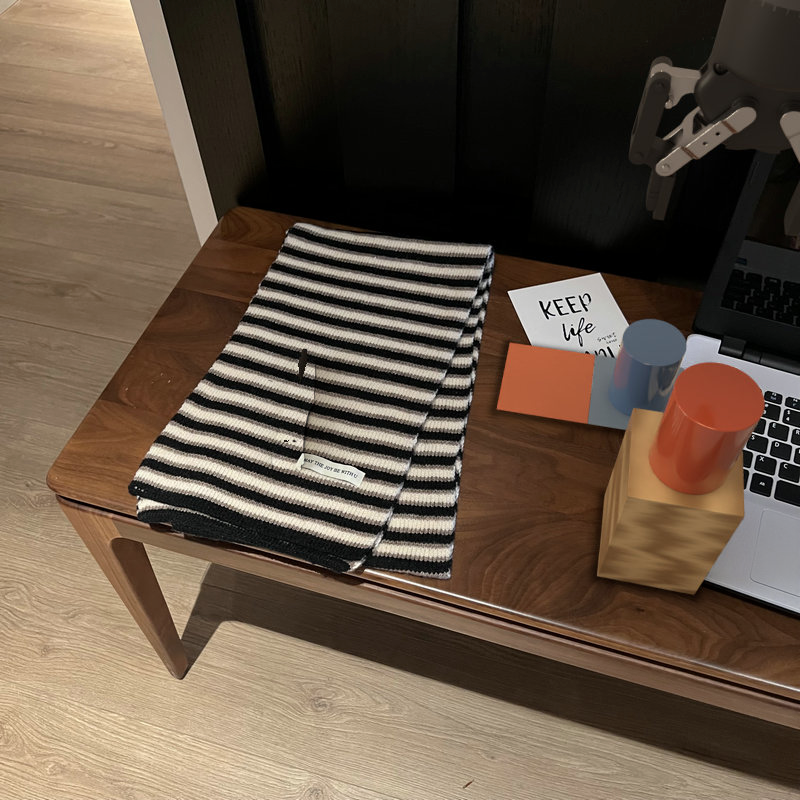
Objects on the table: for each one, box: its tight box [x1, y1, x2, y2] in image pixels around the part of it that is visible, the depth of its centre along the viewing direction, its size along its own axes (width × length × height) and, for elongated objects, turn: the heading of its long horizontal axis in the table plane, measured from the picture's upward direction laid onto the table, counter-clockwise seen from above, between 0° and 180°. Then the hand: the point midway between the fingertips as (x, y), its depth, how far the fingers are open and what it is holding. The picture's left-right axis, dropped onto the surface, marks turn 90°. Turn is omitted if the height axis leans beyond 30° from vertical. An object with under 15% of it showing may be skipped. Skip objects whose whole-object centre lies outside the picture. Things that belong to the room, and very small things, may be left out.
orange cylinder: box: [648, 361, 766, 495], centre depth 60 cm, size 6×6×9 cm
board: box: [496, 342, 685, 431], centre depth 88 cm, size 20×10×1 cm, turn 77°
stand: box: [596, 408, 746, 596], centre depth 70 cm, size 9×9×16 cm
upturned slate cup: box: [608, 318, 688, 416], centre depth 83 cm, size 6×6×9 cm
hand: (723, 219), depth 53 cm, fingers open, 8 cm apart
